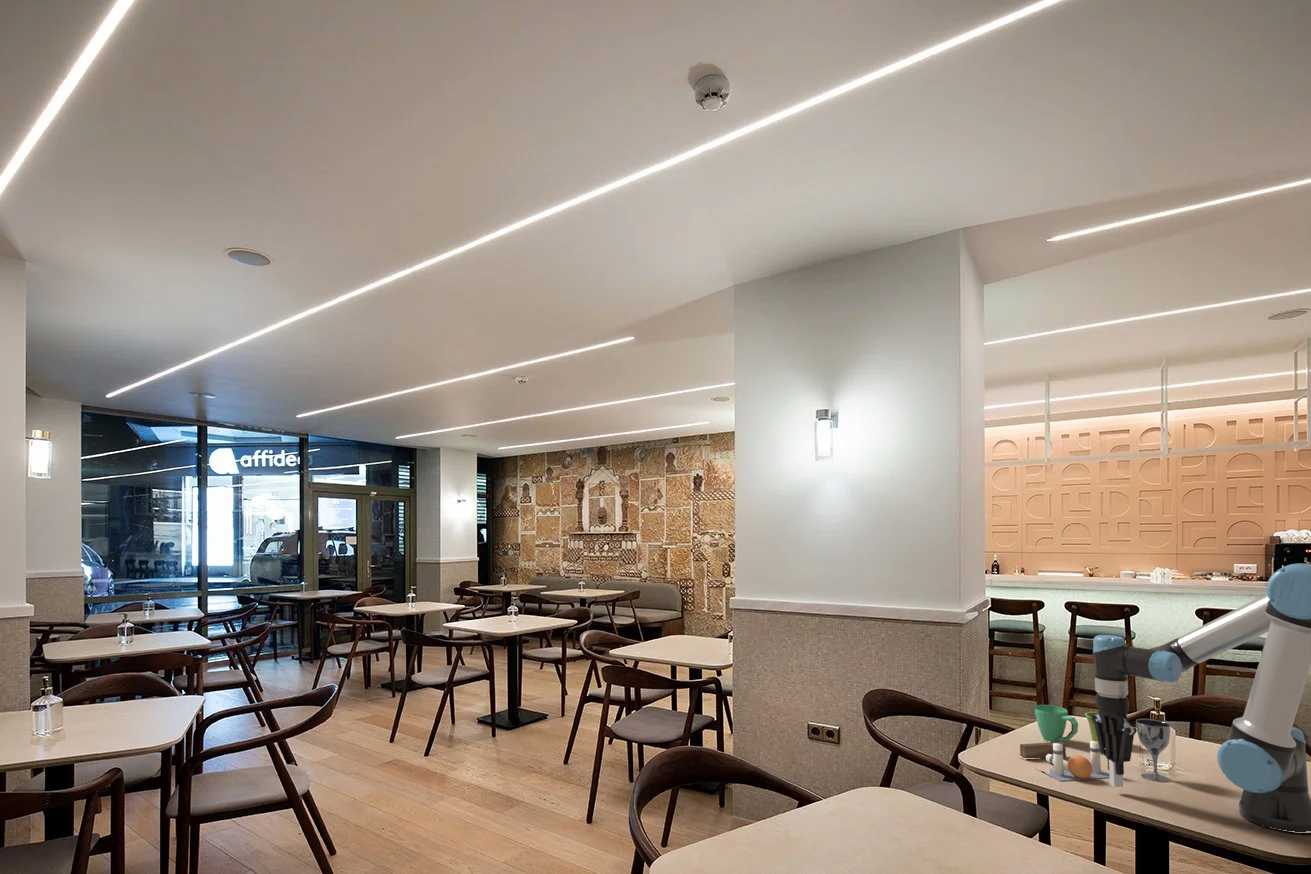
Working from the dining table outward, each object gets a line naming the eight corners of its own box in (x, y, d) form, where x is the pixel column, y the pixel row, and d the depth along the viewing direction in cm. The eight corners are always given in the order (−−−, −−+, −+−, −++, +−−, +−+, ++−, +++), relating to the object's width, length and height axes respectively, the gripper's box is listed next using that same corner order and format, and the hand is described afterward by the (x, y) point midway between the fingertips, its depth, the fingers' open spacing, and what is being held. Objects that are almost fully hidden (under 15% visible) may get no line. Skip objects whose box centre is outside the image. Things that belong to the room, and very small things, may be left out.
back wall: (1065, 757, 221) (1065, 743, 222) (1024, 760, 219) (1024, 746, 219) (1061, 755, 223) (1060, 741, 224) (1020, 757, 221) (1019, 744, 221)
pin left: (1066, 776, 205) (1064, 745, 206) (1058, 777, 205) (1057, 746, 206) (1059, 773, 208) (1058, 742, 209) (1052, 774, 207) (1050, 743, 208)
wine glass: (1178, 784, 200) (1175, 727, 202) (1146, 781, 202) (1143, 725, 204) (1165, 773, 208) (1161, 719, 210) (1134, 771, 210) (1131, 717, 211)
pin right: (1103, 774, 207) (1101, 743, 208) (1095, 774, 207) (1094, 743, 208) (1096, 771, 210) (1095, 740, 211) (1088, 771, 209) (1087, 741, 210)
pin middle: (1074, 762, 209) (1050, 752, 218) (1067, 765, 209) (1044, 755, 217) (1076, 770, 209) (1053, 760, 218) (1070, 773, 209) (1047, 763, 217)
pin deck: (1116, 777, 205) (1116, 776, 205) (1060, 781, 202) (1059, 780, 202) (1089, 765, 215) (1089, 764, 215) (1035, 768, 212) (1035, 768, 212)
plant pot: (1082, 743, 235) (1080, 715, 236) (1091, 736, 242) (1090, 710, 243) (1115, 750, 229) (1113, 721, 229) (1124, 743, 235) (1122, 716, 236)
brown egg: (1080, 766, 209) (1098, 777, 203) (1064, 774, 207) (1082, 786, 202) (1077, 748, 208) (1095, 758, 202) (1061, 756, 206) (1079, 767, 201)
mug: (1028, 737, 241) (1026, 706, 242) (1051, 734, 244) (1049, 703, 245) (1066, 751, 227) (1064, 718, 228) (1089, 748, 230) (1088, 715, 231)
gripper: (1144, 700, 190) (1149, 794, 188) (1104, 688, 203) (1109, 776, 201) (1119, 701, 189) (1124, 796, 187) (1081, 689, 202) (1085, 777, 200)
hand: (1116, 785), depth 194 cm, fingers closed
